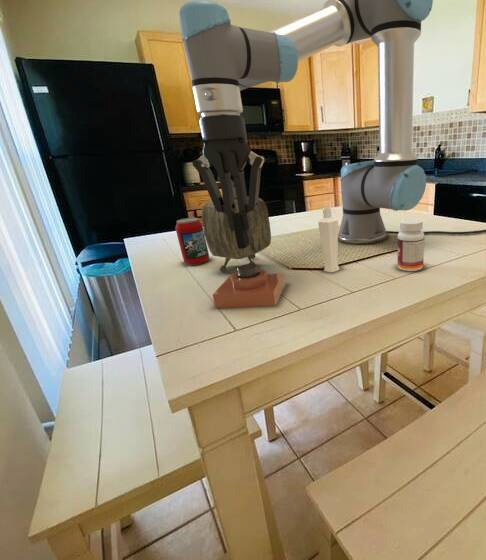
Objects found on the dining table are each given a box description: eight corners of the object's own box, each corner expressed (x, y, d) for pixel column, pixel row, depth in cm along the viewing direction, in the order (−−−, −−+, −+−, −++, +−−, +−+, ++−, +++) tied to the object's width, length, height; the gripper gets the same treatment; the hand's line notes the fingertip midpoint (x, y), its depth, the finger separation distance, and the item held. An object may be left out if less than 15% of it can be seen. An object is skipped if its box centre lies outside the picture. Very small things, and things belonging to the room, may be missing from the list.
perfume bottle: (338, 272, 80) (334, 210, 75) (321, 272, 81) (315, 210, 76) (342, 266, 84) (339, 206, 79) (326, 266, 85) (321, 206, 80)
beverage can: (195, 267, 90) (184, 223, 86) (179, 264, 94) (168, 221, 89) (215, 259, 96) (206, 217, 91) (199, 256, 99) (190, 216, 95)
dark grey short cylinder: (261, 272, 71) (259, 263, 70) (255, 279, 67) (254, 269, 66) (242, 272, 71) (240, 263, 70) (236, 280, 67) (234, 270, 66)
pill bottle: (398, 262, 84) (398, 218, 80) (423, 263, 83) (424, 218, 79) (396, 271, 79) (396, 224, 75) (423, 272, 78) (425, 224, 73)
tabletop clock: (253, 256, 96) (237, 165, 87) (277, 260, 92) (264, 164, 83) (213, 273, 85) (190, 170, 75) (239, 278, 81) (218, 169, 71)
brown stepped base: (285, 285, 75) (282, 264, 73) (275, 305, 66) (271, 282, 64) (232, 287, 76) (228, 267, 74) (215, 308, 66) (210, 284, 64)
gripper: (173, 116, 55) (204, 253, 64) (251, 111, 54) (271, 250, 63) (194, 119, 62) (219, 242, 71) (263, 115, 61) (280, 240, 70)
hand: (243, 246), depth 67 cm, fingers closed
